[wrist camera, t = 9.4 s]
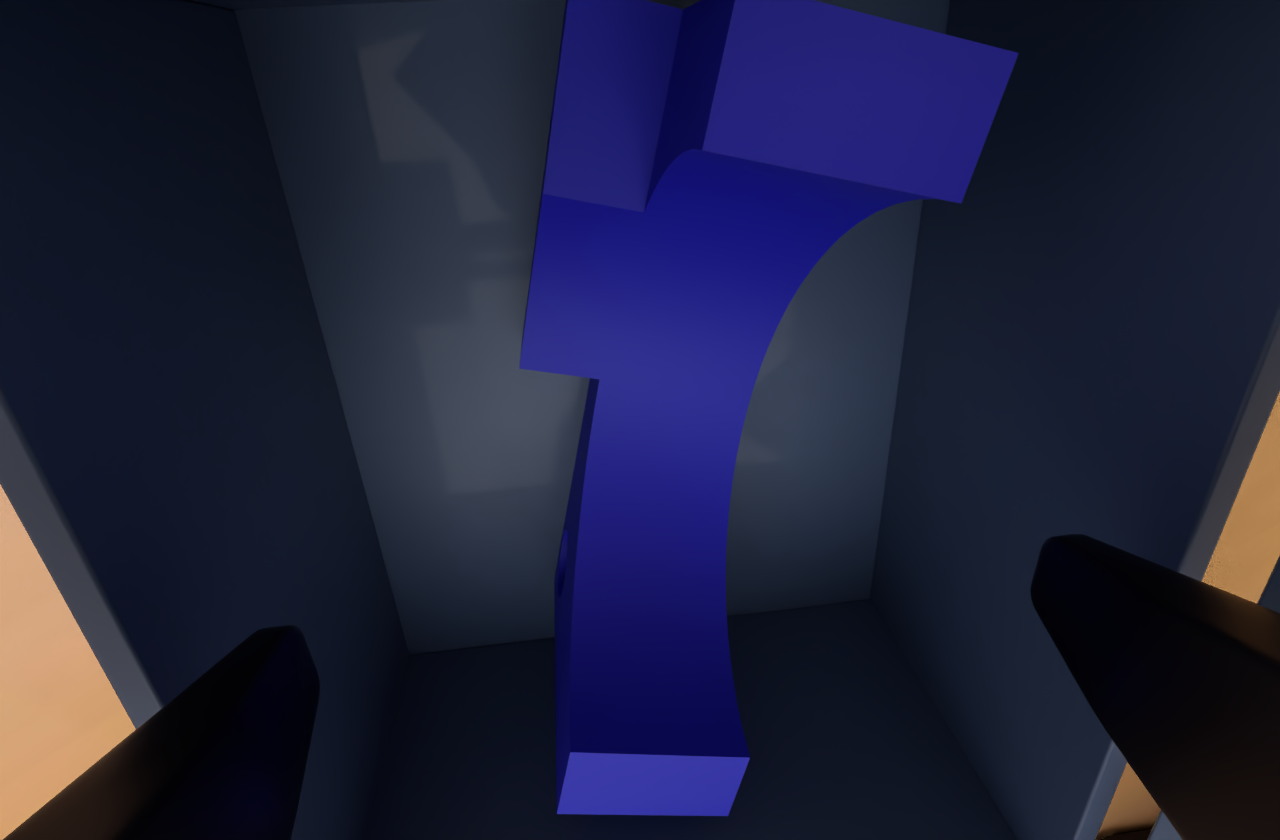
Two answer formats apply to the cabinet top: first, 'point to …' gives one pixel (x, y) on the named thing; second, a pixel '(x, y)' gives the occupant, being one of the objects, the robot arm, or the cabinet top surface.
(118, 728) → the cabinet top surface
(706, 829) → the carton
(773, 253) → the cable clip
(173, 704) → the robot arm
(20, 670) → the cabinet top surface
